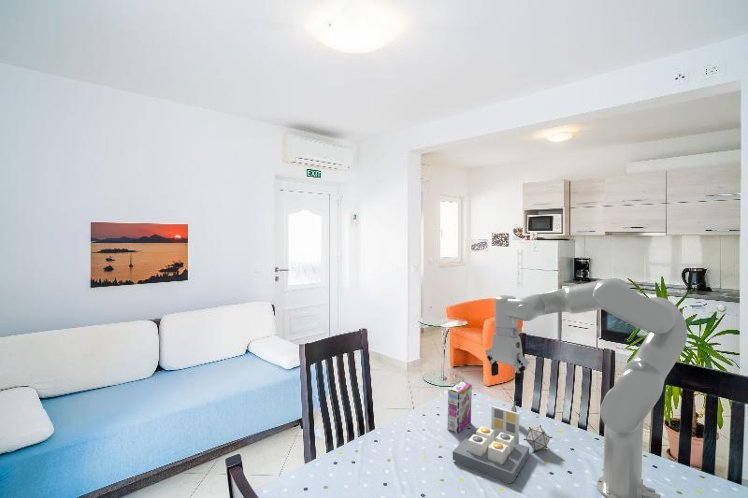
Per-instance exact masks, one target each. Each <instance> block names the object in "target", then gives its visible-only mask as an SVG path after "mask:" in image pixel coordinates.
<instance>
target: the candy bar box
mask: <svg viewBox="0 0 748 498" xmlns="http://www.w3.org/2000/svg"><path fill="white" fill-rule="evenodd" d="M472 388H473V384H472V383H467V382H465V381H460V382H458V383H456V384H455V385H454V386H451V387H449V388H448V391H447V393H448V394H447V395H448V397H447V431H450V432H453V433H455V434H460V433H461V432H462V431H463V430H464V429H466V428H467V427H468V426H469V425H470V424H471V423H472Z"/></svg>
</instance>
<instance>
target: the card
mask: <svg viewBox="0 0 748 498" xmlns="http://www.w3.org/2000/svg"><path fill="white" fill-rule="evenodd" d="M490 426H491V428H490V429H492V430H494V436H495V437H497V436H498V435H499V433H500V432H502V433H505V434H508V435H511V436H514V443H517V444H520V413H519V412H513V411H511V410H510V409H506V408H501V407H498V406H494V405H492V406H491V425H490Z"/></svg>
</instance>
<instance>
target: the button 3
mask: <svg viewBox="0 0 748 498" xmlns="http://www.w3.org/2000/svg"><path fill="white" fill-rule="evenodd" d="M496 442H499V443H502V444H505V445H508V454H509V455H511V454H512V452H513V451H514V436H511V435H508V434H505V433H502V432H500V433H499V435H498V436H497V437H496Z"/></svg>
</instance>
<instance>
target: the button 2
mask: <svg viewBox="0 0 748 498" xmlns="http://www.w3.org/2000/svg"><path fill="white" fill-rule="evenodd" d="M468 452H469V453H472V454H475V455H477V456H480V457H483V456H484V455H485V453H486V452H487V438H484V437H481V436H478V435H475V434H473V435H472V436H471V437H470V438H469V440H468Z"/></svg>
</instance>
